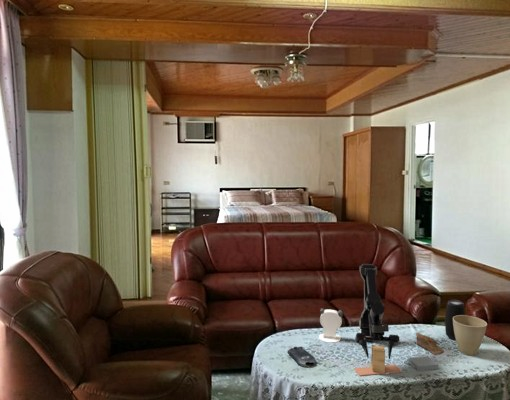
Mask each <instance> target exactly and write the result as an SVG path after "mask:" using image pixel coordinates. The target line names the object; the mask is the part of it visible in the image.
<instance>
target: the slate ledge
mask: <svg viewBox="0 0 510 400" xmlns="http://www.w3.org/2000/svg"><path fill="white" fill-rule="evenodd" d="M407 358H408V359H407V362H408V364H409V365H411V366H412V367H413V368H414V369H415V370H416V371H418V372H419V371H430V370H438V369H439V363H438V362H436V361H435V360H434V359H432V358H431V357H430V356H417V357H407Z"/></svg>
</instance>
